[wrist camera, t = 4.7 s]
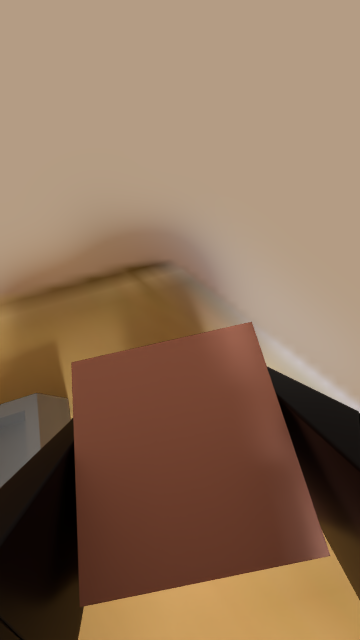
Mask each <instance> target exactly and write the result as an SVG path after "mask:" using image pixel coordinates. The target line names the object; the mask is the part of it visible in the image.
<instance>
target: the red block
mask: <svg viewBox="0 0 360 640" xmlns="http://www.w3.org/2000/svg"><path fill="white" fill-rule="evenodd" d="M72 393H73V422H74V451H75V480H76V509H77V538H78V568H79V597H80V607H83V606H88V605H93V604H98V603H102V602H107V601H112V600H117V599H122V598H127V597H132V596H137V595H142V594H146V593H151V592H156V591H161V590H166V589H171V588H176V587H181V586H185V585H190V584H195V583H200V582H205V581H210V580H215V579H220V578H225V577H229V576H234V575H239V574H244V573H249V572H254V571H259V570H264V569H268V568H273V567H278V566H283V565H288V564H293V563H298V562H303V561H308V560H312V559H317V558H322V557H327V556H330V553H329V550H328V547H327V545H326V542H325V539H324V536H323V533H322V530H321V527H320V524H319V521H318V518H317V515H316V512H315V509H314V506H313V503H312V500H311V497H310V494H309V491H308V488H307V485H306V482H305V479H304V476H303V473H302V470H301V467H300V464H299V461H298V458H297V455H296V452H295V449H294V446H293V443H292V440H291V438H290V435H289V432H288V429H287V426H286V423H285V420H284V417H283V414H282V411H281V408H280V405H279V402H278V399H277V396H276V393H275V390H274V387H273V384H272V381H271V378H270V375H269V372H268V369H267V366H266V363H265V360H264V357H263V354H262V351H261V348H260V345H259V342H258V339H257V336H256V334H255V331H254V328H253V325H252V322H249V323H244V324H240V325H235V326H231V327H227V328H222V329H218V330H213V331H209V332H204V333H200V334H196V335H191V336H187V337H182V338H178V339H173V340H169V341H165V342H160V343H156V344H151V345H147V346H142V347H138V348H134V349H129V350H125V351H120V352H116V353H111V354H107V355H103V356H98V357H94V358H89V359H85V360H80V361H76V362H72Z"/></svg>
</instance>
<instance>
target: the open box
mask: <svg viewBox="0 0 360 640" xmlns="http://www.w3.org/2000/svg"><path fill="white" fill-rule="evenodd" d="M69 421H70V411H69V403H68V398H63V397H57V396H51V395H46V394H40V393H35V394H32V395H29V396H26V397H22V398H19V399H16V400H13V401H10V402H6V403H3V404H0V488H1V487H2V486H3V485H4V484H5V483H6V482H7V481H8V480H9V479H10V478H11V477H12V476H13V475H14V474H15V473H16V472H17V471H18V470H19V469H20V468H21V467H22V466H24V465H25V464H26V463H27V462H28V461H29V460H30V459H31V458H32V457H33V456H34V455H35V454H36V453H37V452H38V451H39V450H40V449H41V448H42V447H43V446H44V445H45V444H46V443H48V442H49V441H50V440H51V439H52V438H53V437H54V436H55V435H56V434H57V433H58V432H59V431H60V430H61V429H62V428H63V427H64V426H65V425H66V424H67V423H68V422H69Z"/></svg>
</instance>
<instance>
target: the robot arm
mask: <svg viewBox="0 0 360 640" xmlns="http://www.w3.org/2000/svg"><path fill="white" fill-rule="evenodd" d="M267 369H268V372H269V375H270V378H271V381H272V384H273V387H274V390H275V393H276V396H277V399H278V402H279V405H280V408H281V411H282V414H283V417H284V420H285V423H286V426H287V429H288V432H289V435H290V438H291V440H292V443H293V446H294V449H295V452H296V455H297V458H298V461H299V464H300V467H301V470H302V473H303V476H304V479H305V482H306V485H307V488H308V491H309V494H310V497H311V500H312V503H313V506H314V509H315V512H316V515H317V518H318V521H319V524H320V527H321V529H322V531H323V533H324V535H325V537H326V539H327V541H328V542H329V544H330V546H331V548H332V550H333V552H334V554H335V555H336V557H337V559H338V561H339V563H340V565H341V566H342V568H343V570H344V572H345V574H346V576H347V578H348V579H349V581H350V583H351V585H352V587H353V589H354V591H355V592H356V594H357V596H358V598H359V600H360V413H359V412H358V411H357V410H355V409H353V408H351V407H349V406H347V405H344V404H342V403H340V402H338V401H336V400H334V399H332V398H330V397H328V396H326V395H324V394H322V393H320V392H318V391H316V390H314V389H312V388H310V387H308V386H306V385H304V384H302V383H300V382H298V381H296V380H294V379H292V378H290V377H287V376H285V375H283V374H281V373H279V372H277V371H275V370H273V369H271V368H269V367H267ZM83 608H84V606H83V607H80V597H79V568H78V538H77V509H76V480H75V451H74V422H73V419H72V420H70V421H69V422H68V423H67V424H66V425H65V426H64V427H63V428H62V429H61V430H60V431H59V432H58V433H57V434H56V435H55V436H54V437H53V438H52V439H51V440H50V441H49V442H48V443H46V444H45V445H44V446H43V447H42V448H41V449H40V450H39V451H38V452H37V453H36V454H35V455H34V456H33V457H32V458H31V459H30V460H29V461H28V462H27V463H26V464H25V465H24V466H22V467H21V468H20V469H19V470H18V471H17V472H16V473H15V474H14V475H13V476H12V477H11V478H10V479H9V480H8V481H7V482H6V483H5V484H4V485H3V486H2V487H1V488H0V640H78V636H79V631H80V625H81V620H82V614H83Z"/></svg>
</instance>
